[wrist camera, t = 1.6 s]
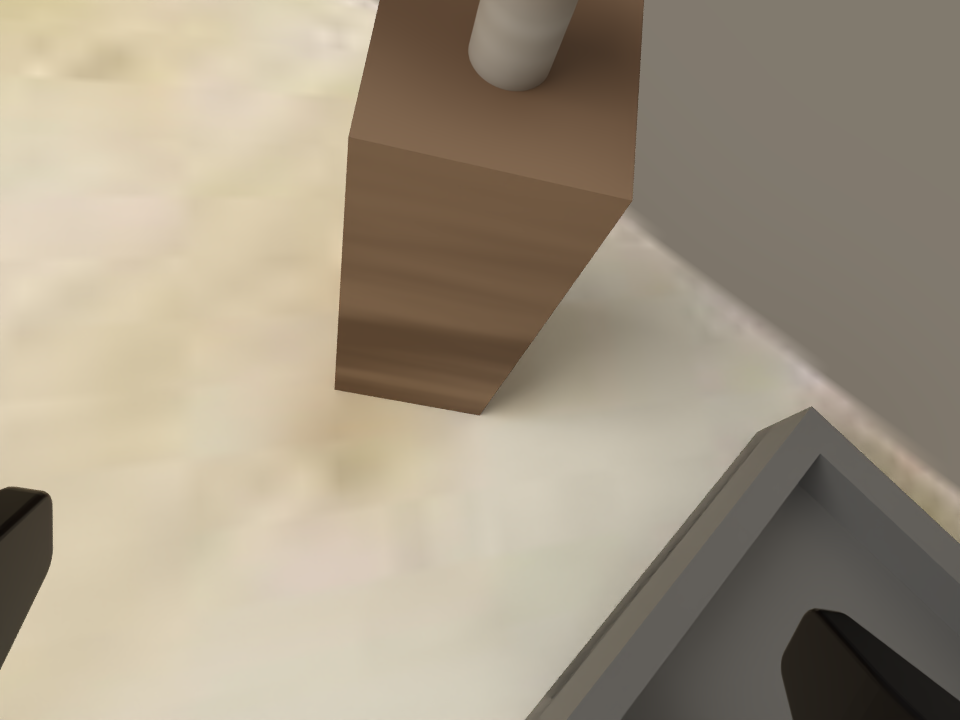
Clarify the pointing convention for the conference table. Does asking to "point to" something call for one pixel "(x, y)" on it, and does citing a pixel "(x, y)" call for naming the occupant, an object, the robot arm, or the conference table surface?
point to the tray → (770, 587)
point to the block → (478, 186)
